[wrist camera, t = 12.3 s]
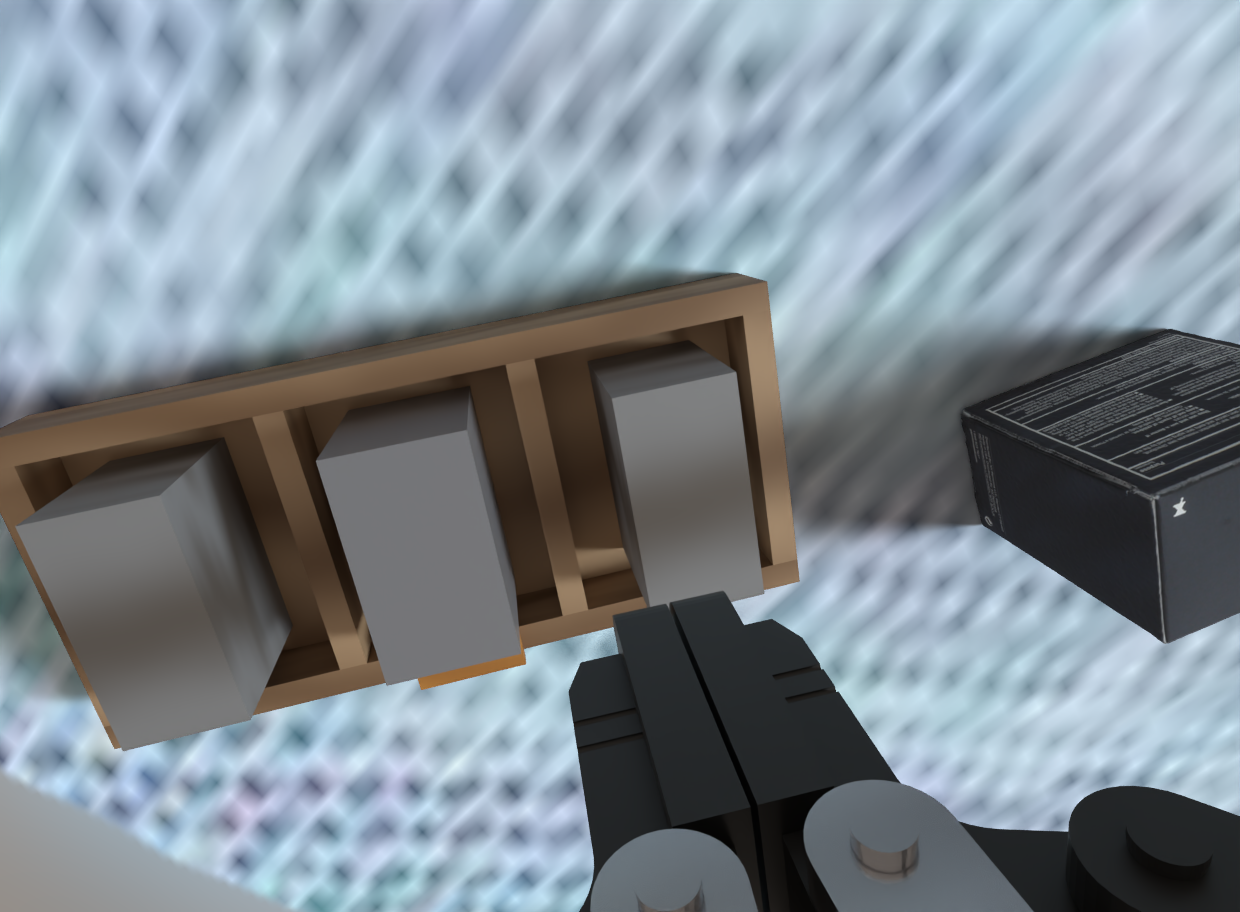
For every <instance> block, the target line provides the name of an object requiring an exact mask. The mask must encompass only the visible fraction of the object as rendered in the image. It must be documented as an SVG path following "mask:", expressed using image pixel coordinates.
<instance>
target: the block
mask: <svg viewBox="0 0 1240 912" xmlns="http://www.w3.org/2000/svg"><path fill="white" fill-rule="evenodd" d="M316 463H317V466H318V470H319V473H320V476H321V479H322V482H323V485H324V489H325V492H326V495H327V498H328V501H329V504H330V508H331V511H332V514H333V517H334V520H335V523H336V527H337V530H338V533H339V536H340V539H341V542H342V546H343V549H344V552H345V555H346V558H347V561H348V565H349V568H350V571H351V574H352V577H353V580H354V584H355V587H356V590H357V593H358V596H359V599H360V603H361V606H362V609H363V612H364V615H365V618H366V622H367V625H368V628H369V631H370V634H371V637H372V641H373V644H374V647H375V650H376V653H377V656H378V660H379V663H380V666H381V669H382V672H383V675H384V679H385V682H386V685H387V686H388V685H392V684H396V683H400V682H404V681H409V680H413V679H417V678H421V677H426V676H430V675H434V674H438V673H442V672H447V671H451V670H455V669H459V668H463V667H468V666H472V665H476V664H480V663H484V662H489V661H493V660H497V659H501V658H506V657H510V656H514V655H518V654H521V646H520V634H519V623H518V611H517V599H516V587H515V576H514V570H513V566H512V562H511V558H510V553H509V549H508V545H507V541H506V536H505V532H504V528H503V524H502V520H501V515H500V511H499V507H498V503H497V498H496V494H495V490H494V486H493V482H492V477H491V473H490V469H489V465H488V460H487V456H486V452H485V448H484V444H483V439H482V435H481V431H480V427H479V422H478V418H477V414H476V410H475V405H474V401H473V397H472V393H471V389H470V386H467V387H462V388H457V389H452V390H447V391H442V392H437V393H432V394H427V395H422V396H417V397H412V398H407V399H402V400H397V401H392V402H387V403H382V404H377V405H372V406H367V407H362V408H357V409H352V410H348V412H347V413H346V415H345V416H344V418H343V420H342V421H341V423H340V424H339V426H338V427H337V429H336V430H335V432H334V433H333V435H332V437H331V438H330V440H329V441H328V443H327V444H326V446H325V447H324V449H323V451H322V452H321V454H320V455H319V457H318V458H317V460H316Z"/></svg>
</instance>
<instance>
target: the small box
mask: <svg viewBox="0 0 1240 912" xmlns="http://www.w3.org/2000/svg"><path fill="white" fill-rule="evenodd" d="M961 419H962V426H963V429H964V432H965V435H966V439H967V440H966V444H967V446H968V451H969V456H970V462H971V468H972V473H973V480H974V485H975V491H976V492H975V498H976V502H977V505H978V509H979V513H980V516H981V521H982V524H983V526H985V527H987V528H988V529H990V530H992V531H993V532H995V533H996V534H998V535H999V536H1001V537H1002V538H1004V539H1006V540H1007V541H1009V542H1010V543H1012V544H1013V545H1015V546H1016V547H1018V548H1020V549H1021V550H1023V551H1024V552H1026V553H1027V554H1029V555H1031V556H1032V557H1033V558H1035V559H1037V560H1038V561H1040V562H1041V563H1043V564H1044V565H1046V566H1047V567H1049V568H1051V569H1052V570H1054V571H1055V572H1057V573H1058V574H1060V575H1061V576H1063V577H1065V578H1066V579H1067V580H1069V581H1071V582H1072V583H1074V584H1075V585H1077V586H1078V587H1080V588H1081V589H1083V590H1084V591H1086V592H1087V593H1089V594H1090V595H1092V596H1093V597H1095V598H1097V599H1098V600H1100V601H1101V602H1103V603H1104V604H1106V605H1107V606H1109V607H1110V608H1112V609H1113V610H1115V611H1116V612H1118V613H1119V614H1121V615H1123V616H1124V617H1126V618H1127V619H1129V620H1131V621H1132V622H1134V623H1135V624H1137V625H1138V626H1140V627H1141V628H1143V629H1144V630H1146V631H1148V632H1149V633H1151V634H1152V635H1153V636H1155V637H1156V638H1157V639H1158V640H1160V641H1161V642H1163V643H1164V644H1166V643H1170V642H1172V641H1175V640H1177V639H1179V638H1182V637H1184V636H1186V635H1188V634H1191V633H1194V632H1196V631H1198V630H1201V629H1203V628H1205V627H1208V626H1210V625H1212V624H1215V623H1217V622H1219V621H1222V620H1224V619H1226V618H1229V617H1231V616H1233V615H1236V614H1238V613H1240V345H1238V344H1234V343H1230V342H1225V341H1220V340H1215V339H1211V338H1206V337H1202V336H1198V335H1195V334H1189V333H1184V332H1181V331H1178V330H1173V329H1168V330H1165V331H1163V332H1160V333H1158V334H1155V335H1152V336H1150V337H1147V338H1144V339H1141V340H1139V341H1136V342H1134V343H1131V344H1129V345H1126V346H1124V347H1121V348H1118V349H1116V350H1113V351H1111V352H1108V353H1105V354H1102V355H1100V356H1098V357H1096V358H1093V359H1090V360H1087V361H1085V362H1082V363H1080V364H1077V365H1075V366H1072V367H1070V368H1067V369H1065V370H1062V371H1059V372H1057V373H1054V374H1052V375H1049V376H1047V377H1044V378H1041V379H1039V380H1036V381H1034V382H1031V383H1028V384H1026V385H1024V386H1021V387H1018V388H1016V389H1013V390H1010V391H1008V392H1006V393H1003V394H1000V395H998V396H996V397H993V398H990V399H988V400H986V401H983V402H981V403H978V404H976V405H973V406H971V407H968V408H965V409H963V412H962V417H961Z"/></svg>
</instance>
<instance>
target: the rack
mask: <svg viewBox="0 0 1240 912" xmlns="http://www.w3.org/2000/svg"><path fill="white" fill-rule="evenodd" d="M467 386H470V389H471V393H472V397H473V401H474V405H475V410H476V414H477V418H478V422H479V427H480V431H481V435H482V439H483V444H484V448H485V452H486V456H487V460H488V465H489V469H490V473H491V477H492V482H493V486H494V490H495V494H496V498H497V503H498V507H499V511H500V515H501V520H502V524H503V528H504V532H505V536H506V541H507V545H508V549H509V553H510V558H511V562H512V566H513V570H514V576H515V587H516V599H517V611H518V623H519V634H520V646H521V654H518V655H514V656H510V657H506V658H501V659H497V660H493V661H489V662H484V663H480V664H476V665H472V666H468V667H463V668H459V669H455V670H451V671H447V672H442V673H438V674H434V675H430V676H426V677H421V678H418V681H419V684H420V687H421V690H423V689H427V688H431V687H435V686H439V685H444V684H448V683H452V682H456V681H460V680H464V679H468V678H472V677H476V676H480V675H484V674H488V673H492V672H496V671H500V670H504V669H508V668H512V667H516V666H520V665H525V664H526V658H525V652H524V649H526V648H530V647H534V646H538V645H542V644H546V643H550V642H554V641H558V640H562V639H566V638H570V637H575V636H579V635H583V634H587V633H591V632H595V631H599V630H603V629H607V628H611V627H614V625H613V618H612V615H616V614H620V613H625V612H629V611H634V610H638V609H643V608H647V607H652V606H656V605H661V604H667V606H668V608H669V603H670V602H674V601H678V600H683V599H687V598H692V597H696V596H701V595H705V594H710V593H714V592H719V591H724V592H725V593H726V595H727V596H728V598H729V600H730V601H731V602H733V601H737V600H741V599H745V598H749V597H753V596H758V595H762V594H764V590H766V589H771V588H775V587H779V586H783V585H787V584H791V583H795V582H799V581H800V580H799V571H798V562H797V553H796V543H795V534H794V525H793V516H792V507H791V497H790V488H789V479H788V470H787V461H786V451H785V442H784V433H783V424H782V415H781V405H780V396H779V387H778V378H777V368H776V359H775V350H774V341H773V332H772V322H771V313H770V304H769V295H768V286H767V281H763V280H760V279H756V278H753V277H749V276H745V275H742V274H738V273H734V274H729V275H724V276H719V277H714V278H709V279H704V280H699V281H694V282H689V283H684V284H679V285H674V286H669V287H664V288H659V289H654V290H649V291H644V292H640V293H635V294H630V295H625V296H620V297H615V298H610V299H605V300H600V301H595V302H590V303H585V304H580V305H575V306H570V307H565V308H560V309H555V310H550V311H545V312H540V313H535V314H530V315H525V316H520V317H515V318H510V319H505V320H500V321H495V322H490V323H485V324H480V325H475V326H470V327H465V328H460V329H456V330H451V331H446V332H441V333H436V334H431V335H426V336H421V337H416V338H411V339H406V340H401V341H396V342H391V343H386V344H381V345H376V346H371V347H366V348H361V349H356V350H351V351H346V352H341V353H336V354H331V355H326V356H321V357H316V358H311V359H306V360H301V361H296V362H291V363H286V364H281V365H276V366H272V367H267V368H262V369H257V370H252V371H247V372H242V373H237V374H232V375H227V376H222V377H217V378H212V379H207V380H202V381H197V382H192V383H187V384H182V385H177V386H172V387H167V388H162V389H157V390H152V391H147V392H142V393H137V394H132V395H127V396H122V397H117V398H112V399H107V400H102V401H97V402H92V403H88V404H83V405H78V406H73V407H68V408H63V409H58V410H53V411H48V412H43V413H38V414H33V415H28V416H26V417H24V418H21V419H19V420H17V421H15V422H13V423H11V424H9V425H7V426H4V427H2V428H0V513H1V515H2V517H3V519H4V521H5V524H6V526H7V528H8V530H9V532H10V534H11V536H12V538H13V540H14V542H15V544H16V546H17V548H18V550H19V552H20V555H21V557H22V559H23V561H24V563H25V565H26V567H27V569H28V571H29V573H30V575H31V577H32V579H33V581H34V583H35V586H36V588H37V590H38V592H39V594H40V596H41V598H42V600H43V602H44V604H45V606H46V608H47V610H48V612H49V615H50V617H51V619H52V621H53V623H54V625H55V627H56V629H57V631H58V633H59V635H60V637H61V639H62V641H63V643H64V646H65V648H66V650H67V652H68V654H69V656H70V658H71V660H72V662H73V664H74V666H75V668H76V670H77V672H78V675H79V677H80V679H81V681H82V683H83V685H84V687H85V689H86V691H87V693H88V695H89V697H90V699H91V701H92V703H93V706H94V708H95V710H96V712H97V714H98V716H99V718H100V720H101V722H102V724H103V726H104V728H105V730H106V732H107V734H108V737H109V739H110V741H111V743H112V745H113V747H114V749H117V748H122V750H123V751H126V750H130V749H134V748H138V747H142V746H146V745H150V744H154V743H159V742H163V741H167V740H171V739H175V738H179V737H183V736H187V735H191V734H195V733H199V732H203V731H207V730H212V729H216V728H220V727H224V726H228V725H232V724H236V723H240V722H244V721H248V720H251V718H252V716H253V715H256V714H260V713H264V712H268V711H272V710H276V709H280V708H285V707H289V706H293V705H297V704H301V703H305V702H309V701H313V700H317V699H321V698H325V697H329V696H334V695H338V694H342V693H346V692H350V691H354V690H358V689H362V688H366V687H370V686H374V685H378V684H383V683H386V682H385V679H384V675H383V672H382V669H381V666H380V663H379V660H378V656H377V653H376V650H375V647H374V644H373V641H372V637H371V634H370V631H369V628H368V625H367V622H366V618H365V615H364V612H363V609H362V606H361V603H360V599H359V596H358V593H357V590H356V587H355V584H354V580H353V577H352V574H351V571H350V568H349V565H348V561H347V558H346V555H345V552H344V549H343V546H342V542H341V539H340V536H339V533H338V530H337V527H336V523H335V520H334V517H333V514H332V511H331V508H330V504H329V501H328V498H327V495H326V492H325V489H324V485H323V482H322V479H321V476H320V473H319V470H318V466H317V463H316V460H317V458H318V457H319V455H320V454H321V452H322V451H323V449H324V447H325V446H326V444H327V443H328V441H329V440H330V438H331V437H332V435H333V433H334V432H335V430H336V429H337V427H338V426H339V424H340V423H341V421H342V420H343V418H344V416H345V415H346V413H347V412H348V410H352V409H357V408H362V407H367V406H372V405H377V404H382V403H387V402H392V401H397V400H402V399H407V398H412V397H417V396H422V395H427V394H432V393H437V392H442V391H447V390H452V389H457V388H462V387H467Z"/></svg>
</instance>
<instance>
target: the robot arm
mask: <svg viewBox="0 0 1240 912" xmlns="http://www.w3.org/2000/svg"><path fill="white" fill-rule="evenodd" d="M612 618H613V625H614V631H615V636H616V642H617V647H618V653H619V654H616V655H612V656H608V657H603V658H599V659H594V660H590V661H586V662H581V663H580V666H579V668H578V671H577V673H576V675H575V678H574V680H573V682H572V685H571V687H570V690H569V698H570V704H571V711H572V717H573V723H574V730H575V737H576V743H577V749H578V757H579V763H580V770H581V776H582V783H583V789H584V796H585V802H586V809H587V815H588V822H589V828H590V835H591V842H592V848H593V855H594V874H593V881H592V884H591V888H590V891H589V894H588V896H587V898H586V900H585V902H584V905H583V906H582V908H581V909H580V911H579V912H1240V816H1237V815H1235V814H1232V813H1229V812H1226V811H1223V810H1221V809H1218V808H1215V807H1212V806H1210V805H1207V804H1204V803H1201V802H1199V801H1196V800H1193V799H1190V798H1187V797H1185V796H1182V795H1178V794H1175V793H1172V792H1169V791H1165V790H1160V789H1155V788H1149V787H1140V786H1118V787H1111V788H1106V789H1103V790H1099V791H1096V792H1094V793H1092V794H1090V795H1088V796H1087V797H1085V798H1084V799H1083V800H1081V801H1080V802H1079V803H1078V804H1077V805H1076V807H1075V809H1074V810H1073V812H1072V814H1071V817H1070V821H1069V831H1068V832H1060V831H1032V830H1005V829H992V828H984V827H979V826H974V825H969V824H966V823H963V822H959V821H958V820H957V819H956V818H955V817H954V816H953V815H952V814H951V812H950V811H949V810H948V809H947V808H946V807H945V806H943V805H942V804H941V803H939V802H938V801H937V800H936V799H934V798H933V797H931V796H929V795H927V794H926V793H924V792H922V791H920V790H918V789H915V788H913V787H910V786H907V785H904V784H901V783H900V782H899V780H898V779H897V778H896V776H895V775H894V773H893V772H892V770H891V769H890V767H889V766H888V764H887V763H886V761H885V760H884V758H883V757H882V755H881V754H880V752H879V751H878V750H877V748H876V747H875V745H874V744H873V742H872V741H871V739H870V738H869V736H868V735H867V733H866V732H865V730H864V729H863V727H862V726H861V724H860V723H859V721H858V720H857V718H856V717H855V715H854V714H853V712H852V711H851V709H850V708H849V706H848V705H847V704H846V702H845V701H844V699H843V698H842V696H841V695H840V693H839V692H836V690H835V686H834V684H833V683H832V681H831V680H830V678H829V677H828V675H827V674H826V672H825V671H824V669H822V670H821V667H820V663H819V662H818V660H817V659H816V658H815V656H814V655H813V653H812V652H811V650H810V649H809V647H808V646H807V644H806V643H805V641H804V640H803V638H802V637H800V636H799V635H797V634H795V633H794V632H792V631H790V630H789V629H787V628H786V627H784V626H782V625H781V624H779V623H777V622H776V621H774V620H773V619H770V620H765V621H761V622H756V623H752V624H748V625H744V624H743V623H742V621H741V619H740V617H739V616H738V614H737V612H736V610H735V609H734V607H733V605H732V603H731V601H730V600H729V598H728V596H727V595H726V593H725V592H724V591H719V592H714V593H710V594H705V595H701V596H696V597H692V598H687V599H683V600H678V601H674V602H670V603H669V608H668V606H667V604H661V605H656V606H652V607H647V608H643V609H638V610H634V611H629V612H625V613H620V614H616V615H612Z"/></svg>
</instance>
